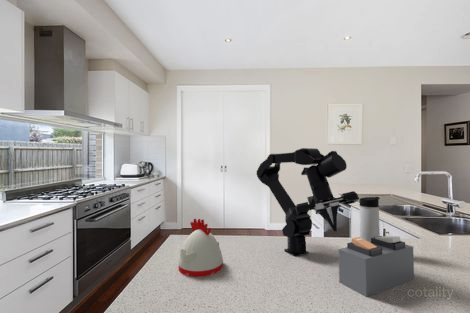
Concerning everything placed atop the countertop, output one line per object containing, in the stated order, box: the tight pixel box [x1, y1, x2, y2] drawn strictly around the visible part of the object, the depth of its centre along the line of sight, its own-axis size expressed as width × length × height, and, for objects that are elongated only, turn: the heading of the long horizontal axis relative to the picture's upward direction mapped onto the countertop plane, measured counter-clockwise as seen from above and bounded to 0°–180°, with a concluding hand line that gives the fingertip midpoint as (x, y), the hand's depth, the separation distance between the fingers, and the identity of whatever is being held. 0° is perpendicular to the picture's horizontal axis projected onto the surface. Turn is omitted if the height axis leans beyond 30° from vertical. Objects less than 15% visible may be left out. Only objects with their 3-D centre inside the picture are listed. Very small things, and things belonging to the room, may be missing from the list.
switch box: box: [338, 235, 415, 297], centre depth 68 cm, size 8×20×10 cm, turn 116°
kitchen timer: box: [178, 218, 224, 278], centre depth 78 cm, size 14×14×15 cm
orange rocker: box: [350, 236, 377, 250], centre depth 66 cm, size 5×3×1 cm, turn 26°
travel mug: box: [358, 196, 381, 242], centre depth 89 cm, size 6×7×20 cm
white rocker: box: [375, 235, 401, 243], centre depth 70 cm, size 5×3×1 cm, turn 26°
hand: (335, 231), depth 74 cm, fingers closed
